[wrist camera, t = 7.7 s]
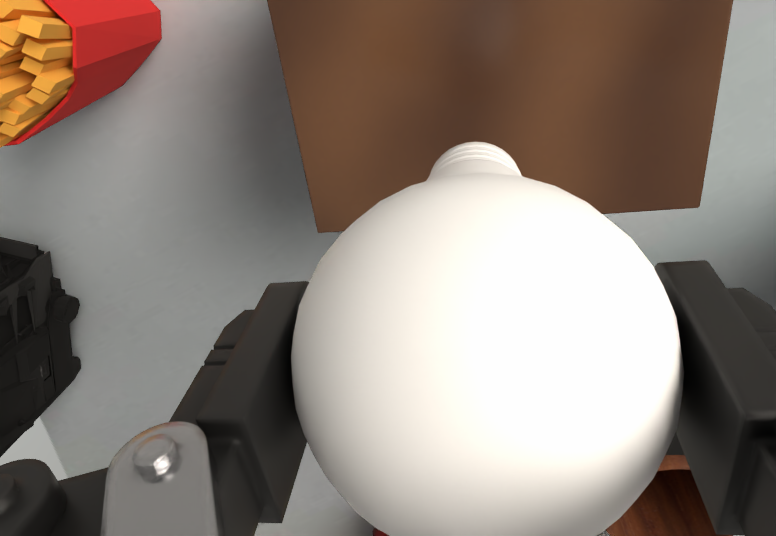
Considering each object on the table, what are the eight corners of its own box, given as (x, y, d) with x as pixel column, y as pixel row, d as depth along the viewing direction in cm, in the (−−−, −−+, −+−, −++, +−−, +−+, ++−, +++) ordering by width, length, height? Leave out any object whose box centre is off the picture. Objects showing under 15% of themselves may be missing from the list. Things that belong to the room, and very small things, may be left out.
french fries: (105, 109, 34) (-46, 192, 24) (48, 56, 33) (-137, 121, 23) (189, 8, 31) (54, 55, 20) (130, -56, 29) (-46, -39, 19)
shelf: (648, -124, 26) (757, -147, 16) (627, 118, 31) (700, 208, 22) (323, -74, 28) (251, -67, 18) (358, 143, 34) (317, 233, 24)
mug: (613, 451, 44) (656, 606, 34) (533, 349, 40) (557, 493, 30) (727, 409, 41) (812, 568, 31) (653, 292, 36) (725, 433, 27)
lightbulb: (593, 250, 17) (744, 655, 8) (395, 279, 18) (320, 652, 9) (577, 37, 14) (786, 278, 5) (342, 91, 15) (148, 360, 6)
